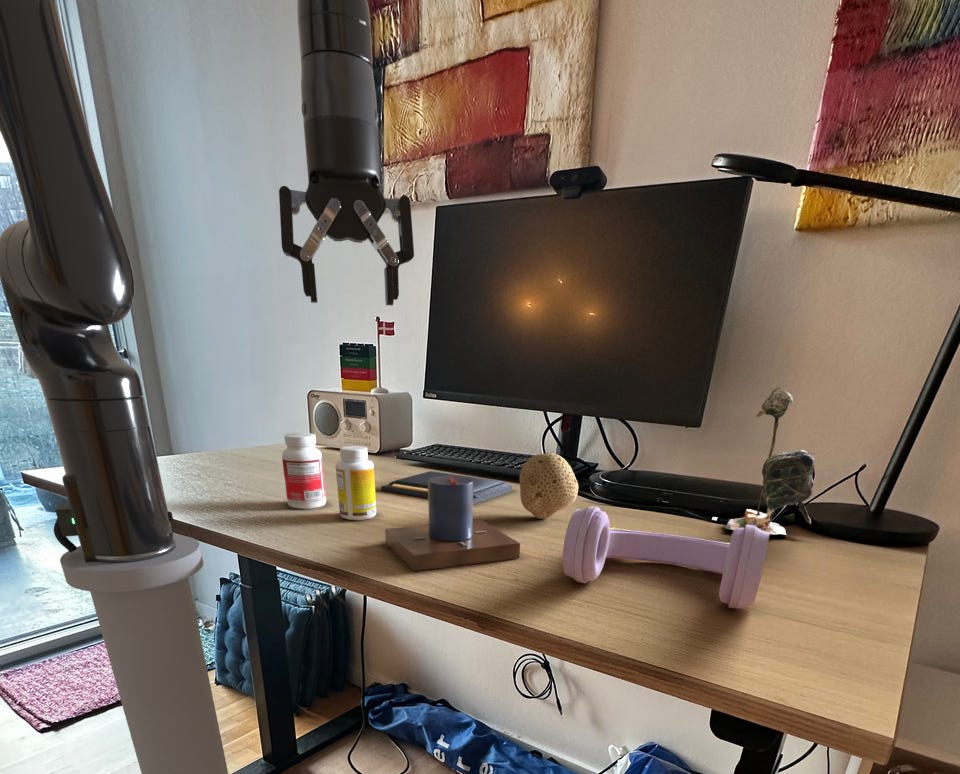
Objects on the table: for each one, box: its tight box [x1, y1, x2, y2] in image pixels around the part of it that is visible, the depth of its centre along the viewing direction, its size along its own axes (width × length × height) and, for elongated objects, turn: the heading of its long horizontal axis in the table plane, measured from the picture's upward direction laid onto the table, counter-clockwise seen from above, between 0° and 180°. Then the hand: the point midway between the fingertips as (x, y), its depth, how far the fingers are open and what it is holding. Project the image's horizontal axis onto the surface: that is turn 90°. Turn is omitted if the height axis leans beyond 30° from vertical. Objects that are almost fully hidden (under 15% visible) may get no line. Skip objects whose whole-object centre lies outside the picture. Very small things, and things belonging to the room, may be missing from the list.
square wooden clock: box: [384, 519, 521, 572], centre depth 78 cm, size 14×12×2 cm
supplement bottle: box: [335, 445, 377, 521], centre depth 90 cm, size 6×6×10 cm
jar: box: [427, 476, 474, 542], centre depth 76 cm, size 6×6×7 cm
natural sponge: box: [519, 452, 579, 520], centre depth 92 cm, size 9×9×10 cm
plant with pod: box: [724, 386, 815, 536], centre depth 85 cm, size 8×11×20 cm
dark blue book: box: [380, 470, 513, 506], centre depth 110 cm, size 20×2×15 cm
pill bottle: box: [281, 432, 327, 510], centre depth 96 cm, size 6×6×11 cm
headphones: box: [562, 506, 770, 609], centre depth 69 cm, size 20×10×20 cm
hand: (352, 303), depth 69 cm, fingers open, 8 cm apart
